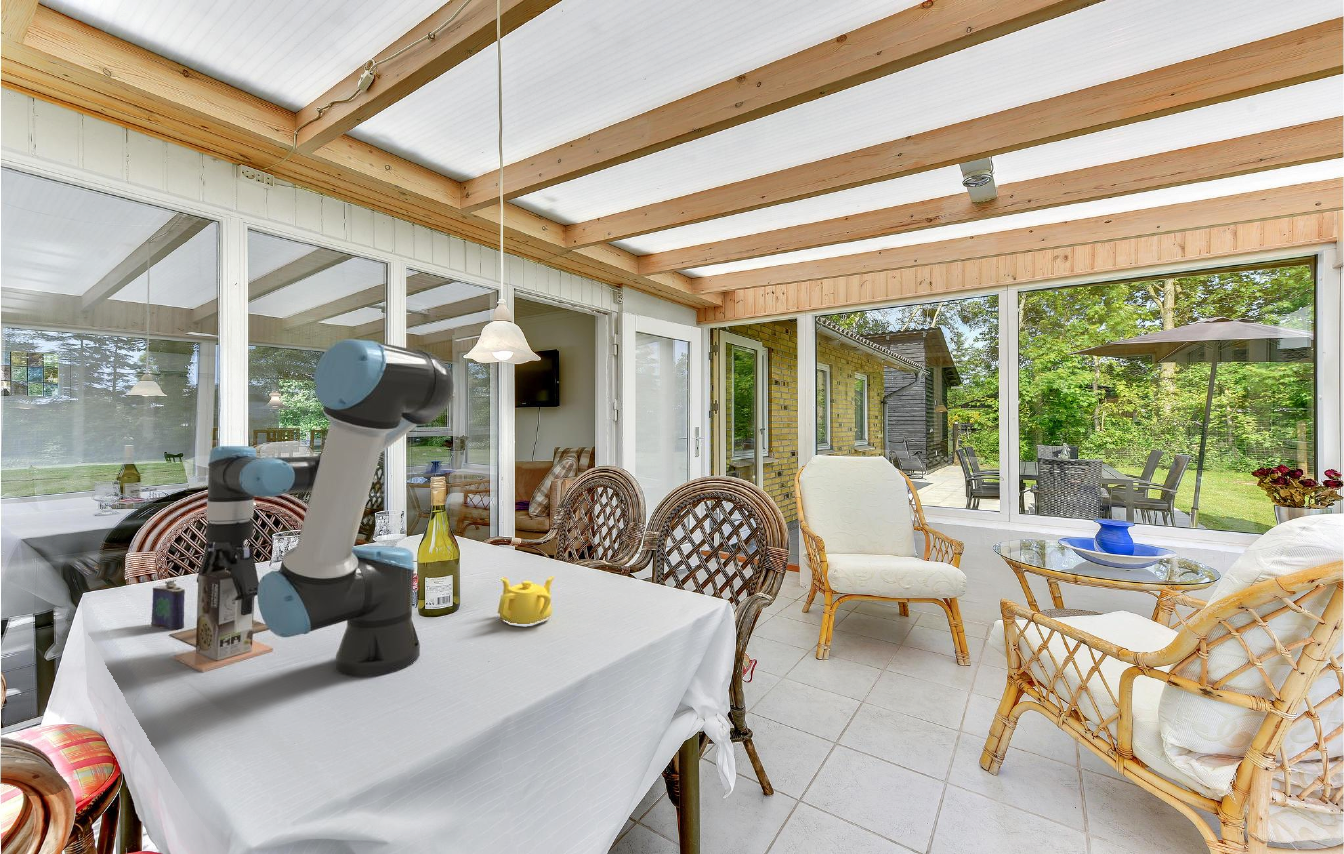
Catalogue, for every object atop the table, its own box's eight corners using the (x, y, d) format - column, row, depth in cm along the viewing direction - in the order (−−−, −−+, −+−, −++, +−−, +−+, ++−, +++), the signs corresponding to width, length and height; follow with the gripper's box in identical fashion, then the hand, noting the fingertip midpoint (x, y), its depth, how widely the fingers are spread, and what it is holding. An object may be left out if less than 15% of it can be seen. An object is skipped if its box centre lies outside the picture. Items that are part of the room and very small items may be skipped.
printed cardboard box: (253, 650, 111) (257, 572, 111) (216, 661, 105) (219, 579, 105) (231, 641, 115) (234, 566, 115) (193, 652, 109) (197, 572, 110)
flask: (148, 625, 125) (150, 579, 125) (163, 621, 127) (165, 576, 128) (173, 631, 122) (176, 583, 122) (188, 627, 124) (191, 580, 125)
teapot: (553, 611, 143) (554, 574, 143) (552, 629, 130) (553, 588, 130) (499, 613, 140) (501, 575, 140) (492, 631, 127) (494, 589, 127)
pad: (273, 650, 113) (273, 647, 113) (202, 672, 102) (202, 668, 102) (243, 639, 118) (243, 636, 118) (173, 658, 107) (173, 655, 108)
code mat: (274, 627, 125) (274, 626, 125) (199, 648, 113) (199, 646, 113) (243, 617, 132) (243, 616, 132) (169, 635, 119) (169, 634, 119)
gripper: (284, 524, 108) (279, 629, 108) (222, 513, 120) (217, 608, 119) (240, 529, 102) (235, 642, 101) (179, 517, 113) (174, 618, 113)
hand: (225, 624), depth 110 cm, fingers open, 13 cm apart
